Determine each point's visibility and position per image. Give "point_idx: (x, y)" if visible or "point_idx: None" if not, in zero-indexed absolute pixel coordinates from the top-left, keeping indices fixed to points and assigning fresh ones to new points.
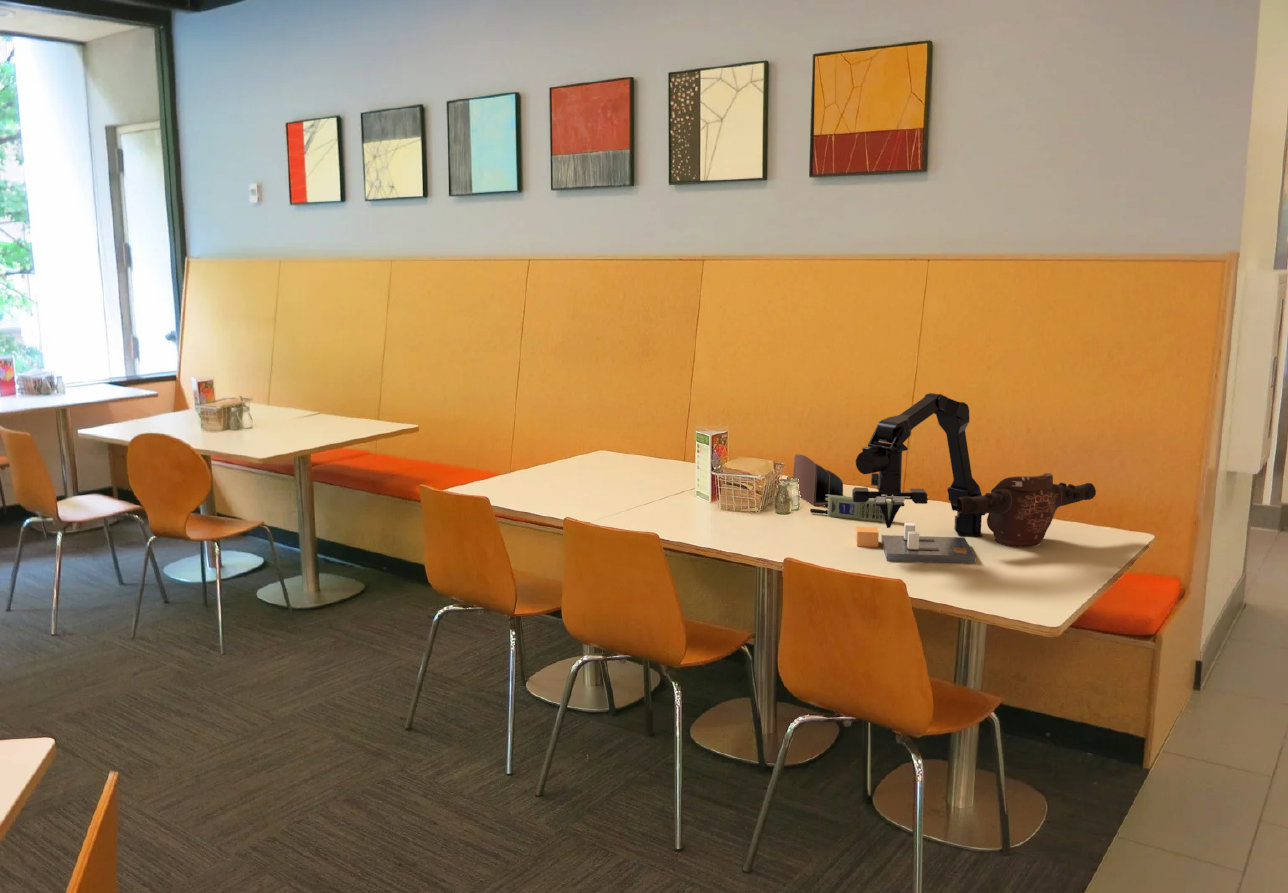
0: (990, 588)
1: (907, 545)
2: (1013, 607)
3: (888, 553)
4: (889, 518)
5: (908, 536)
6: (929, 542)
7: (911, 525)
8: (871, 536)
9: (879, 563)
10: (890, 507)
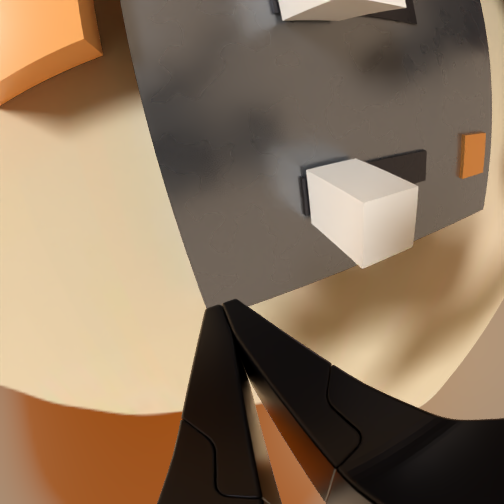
0: (427, 349)
1: (310, 178)
2: (418, 391)
3: None
4: (266, 402)
5: (349, 240)
6: (399, 43)
7: (384, 1)
8: (42, 66)
9: (182, 334)
10: (337, 472)
